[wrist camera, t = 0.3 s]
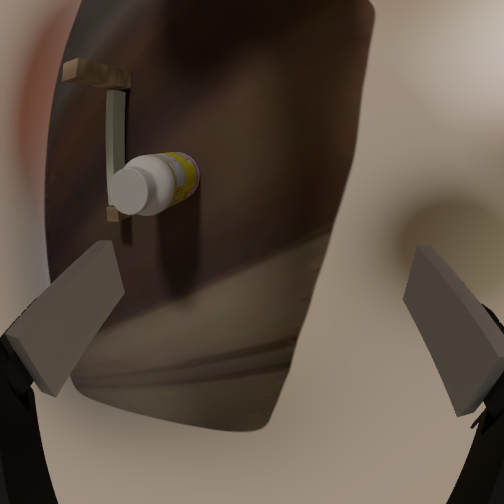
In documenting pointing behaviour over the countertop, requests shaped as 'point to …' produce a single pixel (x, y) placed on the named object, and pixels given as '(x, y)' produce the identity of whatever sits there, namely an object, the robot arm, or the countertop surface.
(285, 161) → the countertop surface
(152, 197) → the supplement bottle
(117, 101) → the bar
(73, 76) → the wooden post frame
